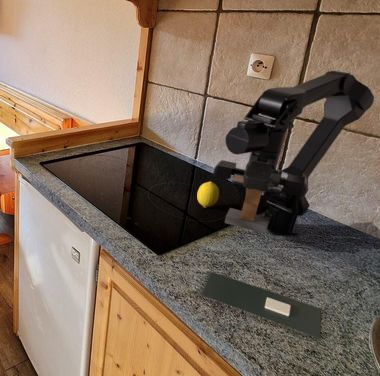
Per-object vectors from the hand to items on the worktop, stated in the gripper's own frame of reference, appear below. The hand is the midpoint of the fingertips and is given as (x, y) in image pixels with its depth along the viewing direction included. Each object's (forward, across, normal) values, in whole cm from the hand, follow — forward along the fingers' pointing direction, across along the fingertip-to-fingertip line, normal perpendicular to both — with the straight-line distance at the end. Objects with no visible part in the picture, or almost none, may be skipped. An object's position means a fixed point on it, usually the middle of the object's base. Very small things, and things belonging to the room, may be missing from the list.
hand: (249, 210), depth 96 cm
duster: (+4, 0, 0) cm, 4 cm away
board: (+8, +7, -24) cm, 26 cm away
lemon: (+8, -12, +12) cm, 19 cm away
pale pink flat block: (+7, +10, -24) cm, 27 cm away
